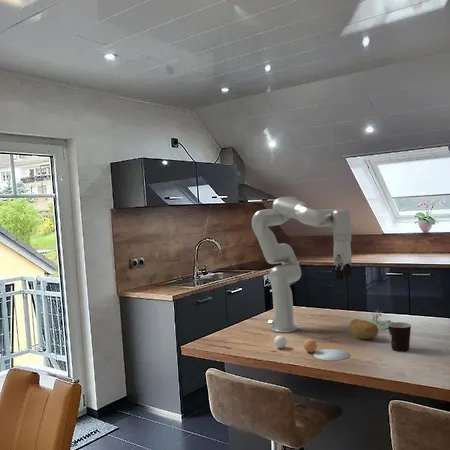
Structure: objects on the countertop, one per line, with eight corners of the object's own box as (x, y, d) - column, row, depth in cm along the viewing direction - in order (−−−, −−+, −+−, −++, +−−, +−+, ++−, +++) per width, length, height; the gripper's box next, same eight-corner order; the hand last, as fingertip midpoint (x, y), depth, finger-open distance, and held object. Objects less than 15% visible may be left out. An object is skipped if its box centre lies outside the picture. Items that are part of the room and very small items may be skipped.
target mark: (307, 357, 189) (307, 357, 189) (322, 347, 200) (322, 347, 200) (341, 362, 181) (341, 362, 181) (354, 352, 192) (354, 351, 192)
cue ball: (272, 348, 204) (271, 336, 203) (278, 345, 208) (277, 333, 208) (283, 350, 200) (282, 337, 200) (289, 346, 205) (288, 334, 205)
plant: (337, 324, 239) (336, 306, 239) (364, 317, 251) (363, 300, 250) (378, 333, 219) (377, 314, 218) (406, 325, 230) (405, 306, 230)
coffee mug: (409, 353, 186) (408, 328, 186) (387, 351, 190) (385, 326, 190) (415, 345, 196) (414, 321, 195) (393, 343, 200) (392, 319, 200)
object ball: (301, 353, 195) (301, 340, 195) (307, 349, 200) (306, 336, 199) (313, 354, 192) (313, 341, 192) (319, 351, 197) (318, 338, 196)
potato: (369, 344, 202) (368, 325, 201) (344, 337, 214) (343, 319, 213) (385, 339, 207) (384, 321, 206) (360, 333, 219) (359, 316, 218)
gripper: (341, 236, 215) (342, 273, 216) (326, 239, 201) (328, 280, 202) (357, 236, 211) (359, 274, 212) (343, 239, 197) (345, 281, 198)
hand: (344, 277), depth 207 cm, fingers open, 9 cm apart
